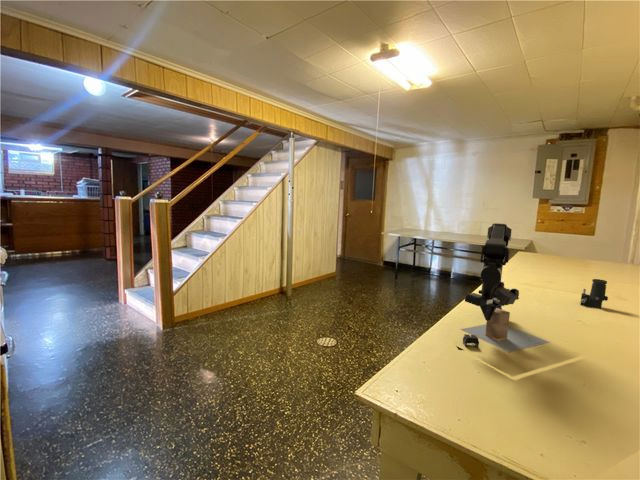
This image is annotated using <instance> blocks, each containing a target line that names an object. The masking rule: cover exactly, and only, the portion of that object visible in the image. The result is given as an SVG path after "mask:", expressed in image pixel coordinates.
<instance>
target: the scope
mask: <svg viewBox="0 0 640 480" xmlns="http://www.w3.org/2000/svg"><path fill="white" fill-rule="evenodd" d="M591 283H592V284H591V289H590V293H589V294H586V292H587V291H586V290H587V289H586V288H583V289H582V293H581V297H580V306H582V307H590V308H593V309H599V310H601V309H602V307H603V302H604V301H605V302H607V301H608V300H609V297H608V296H607V295H606V292H607V290H606V289H607V284H608V281H607V280H605V279H601V278H600V279H597V278H594V279H593V278H592V281H591Z"/></svg>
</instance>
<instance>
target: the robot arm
mask: <svg viewBox="0 0 640 480" xmlns="http://www.w3.org/2000/svg"><path fill="white" fill-rule="evenodd" d="M511 239H512V228H510V227H509V226H508V224H506V223H498V222H497V223H495V222H494V223H492V224H491V226H490V227H488V228H487V239H486V240H485V243H484V244H483V245H482V249H481V254H480V261H479V262H480V263H483V268H482V271H481V272H480V279H479V283H481V289H479V290H478V293H476V292H472V293H467V294H465V295H464V302H466V303H468V304H471V305H474V306H477V307H480V310H481V312H482V315H483V318H484V319H485V321H486V322H487V321H490V319H491V317H492V315H493V313H494V311H495V309H496V308H499V309H502V310H503V308H502V307H504V306H509V305H514V303H515V302H516V300H517V301H518V300H519V299H520V290H519V289H517V288H511V289H510V288H506V287H505V282H504V281H502V276H503V275H502V274H503V266H506V265H507V264H508V263H509V258H510V250H509V247H508V246H509V241H511Z"/></svg>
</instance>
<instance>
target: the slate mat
mask: <svg viewBox="0 0 640 480" xmlns="http://www.w3.org/2000/svg"><path fill="white" fill-rule="evenodd" d="M486 324H487V323H485V324H480V325H475V326H470V327H464V328H460V330H461V331H462V332H465V333H467V334H468V335H470V336H471V335H475V336H476V337H477V338H478V339H479V340H482V341H484V342H486V343H488V344H491V345H493V346H494V347H496V348H498V349H501V350H503V351H506V352H507V353H514V352H518V351H521V350H525V349H529V348H532V347H537V346H540V345H544V344H545V345H546V344H549V343H550V341H548V340H546V339H543V338H541V337H538V336H535V335H533V334H530V333H528V332H525V331H523V330H520V329H519V328H515V327H512V326H510V325H508V334H507V339H504V340H499V341H497V340H495V339H493V338H490V337H488V336H486V335H485V334H486Z"/></svg>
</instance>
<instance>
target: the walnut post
mask: <svg viewBox="0 0 640 480" xmlns="http://www.w3.org/2000/svg"><path fill="white" fill-rule="evenodd" d="M510 315H511V312H510V311H507V310H504V309H503V308H502V309H499V308H496V309H495V311H494V313H493V315H492V317H491V319H490V321H487V320H486V323H485V324H486V334H485V335H486V336H488V337H490V338H493V339H495V340H497V341H499V340H504V339H507V334H508V326H510V325H509V324H510Z"/></svg>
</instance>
